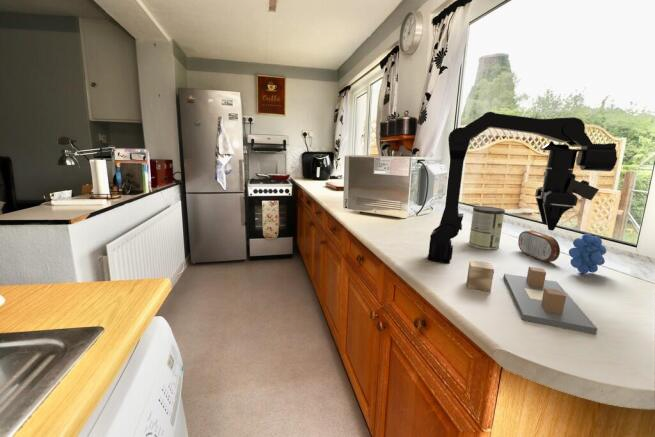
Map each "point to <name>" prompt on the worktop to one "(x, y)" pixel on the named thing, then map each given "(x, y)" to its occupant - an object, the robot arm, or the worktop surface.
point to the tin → (539, 246)
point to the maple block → (480, 276)
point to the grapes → (587, 253)
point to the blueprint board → (547, 317)
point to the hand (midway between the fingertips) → (547, 226)
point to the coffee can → (486, 227)
